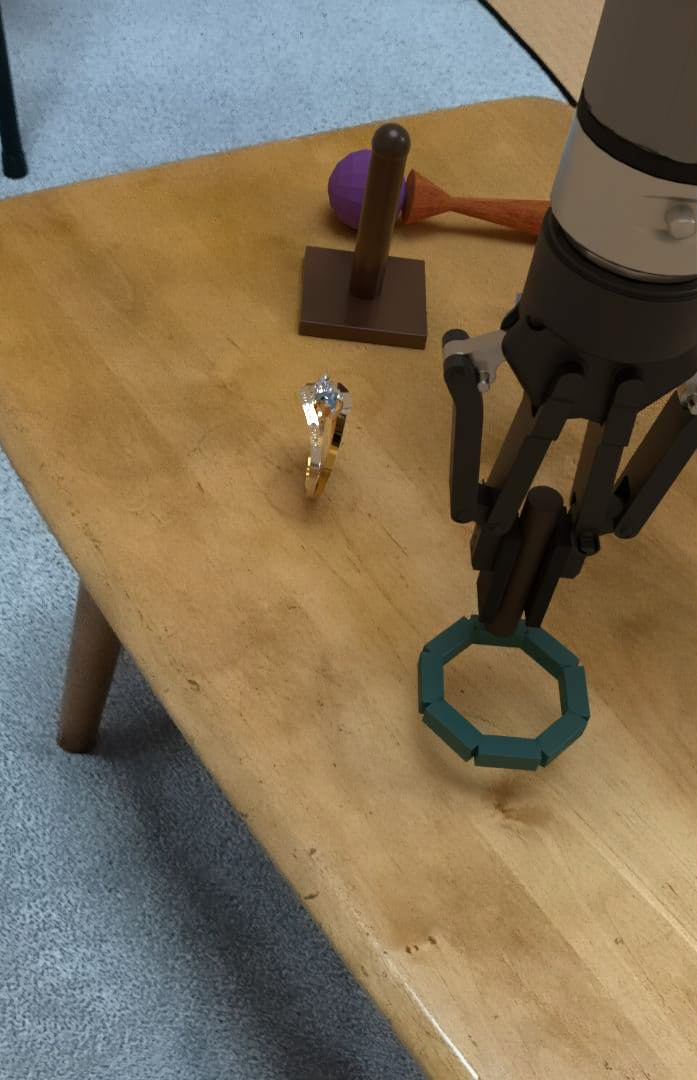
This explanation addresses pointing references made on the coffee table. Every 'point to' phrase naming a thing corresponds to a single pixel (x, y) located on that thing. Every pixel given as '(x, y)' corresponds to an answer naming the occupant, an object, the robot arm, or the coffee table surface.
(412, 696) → the coffee table surface
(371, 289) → the stand
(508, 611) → the ring
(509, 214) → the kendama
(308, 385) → the ring
